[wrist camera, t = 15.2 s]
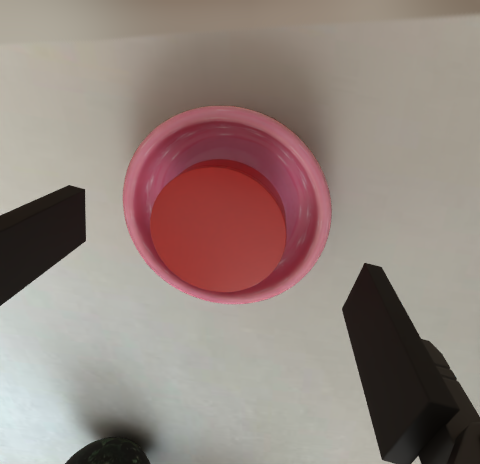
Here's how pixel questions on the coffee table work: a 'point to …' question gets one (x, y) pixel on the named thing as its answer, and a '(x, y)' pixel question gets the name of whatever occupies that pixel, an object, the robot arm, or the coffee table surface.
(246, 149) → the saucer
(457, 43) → the coffee table surface
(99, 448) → the decorative stone
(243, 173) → the jam lid
